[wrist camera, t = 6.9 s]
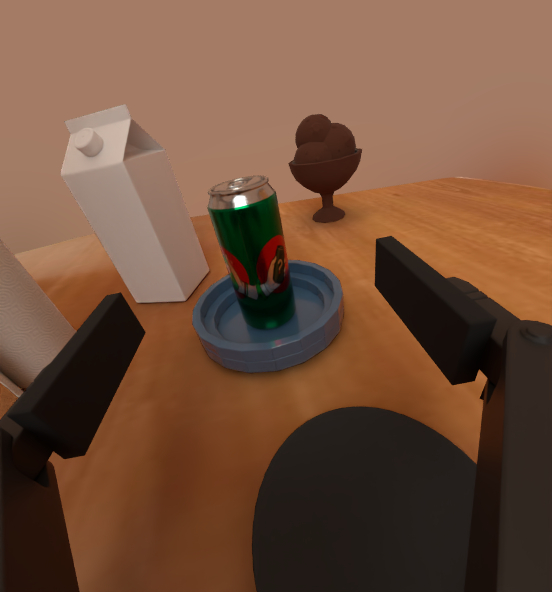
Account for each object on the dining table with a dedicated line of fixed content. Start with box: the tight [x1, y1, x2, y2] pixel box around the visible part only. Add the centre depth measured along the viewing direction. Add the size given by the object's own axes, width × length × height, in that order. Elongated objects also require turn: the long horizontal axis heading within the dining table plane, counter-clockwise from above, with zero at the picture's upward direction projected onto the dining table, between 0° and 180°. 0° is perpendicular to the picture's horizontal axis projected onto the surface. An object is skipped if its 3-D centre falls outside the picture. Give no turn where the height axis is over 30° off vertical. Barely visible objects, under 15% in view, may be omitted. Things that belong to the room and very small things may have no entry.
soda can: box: [208, 176, 296, 330], centre depth 22 cm, size 5×5×12 cm
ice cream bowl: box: [289, 114, 362, 223], centre depth 41 cm, size 11×11×15 cm
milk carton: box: [61, 105, 209, 303], centre depth 29 cm, size 7×7×19 cm
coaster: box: [252, 407, 477, 592], centre depth 11 cm, size 11×11×1 cm
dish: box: [192, 260, 344, 373], centre depth 25 cm, size 13×13×3 cm
